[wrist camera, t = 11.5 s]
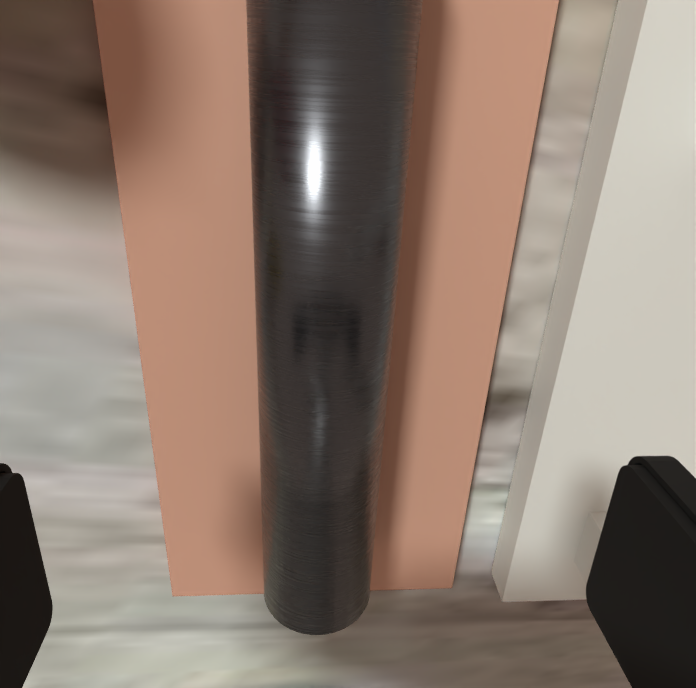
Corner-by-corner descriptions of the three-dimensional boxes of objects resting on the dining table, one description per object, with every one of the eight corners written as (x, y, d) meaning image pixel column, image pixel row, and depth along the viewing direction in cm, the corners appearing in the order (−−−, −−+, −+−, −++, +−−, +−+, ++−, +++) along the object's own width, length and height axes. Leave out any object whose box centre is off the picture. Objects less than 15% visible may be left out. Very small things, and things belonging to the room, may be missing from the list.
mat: (447, 573, 20) (452, 588, 19) (176, 580, 19) (172, 596, 19) (583, -207, 11) (599, -219, 10) (69, -253, 10) (56, -269, 9)
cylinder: (364, 545, 18) (375, 632, 16) (267, 548, 18) (260, 636, 15) (414, -88, 11) (451, -129, 8) (250, -99, 11) (232, -145, 8)
